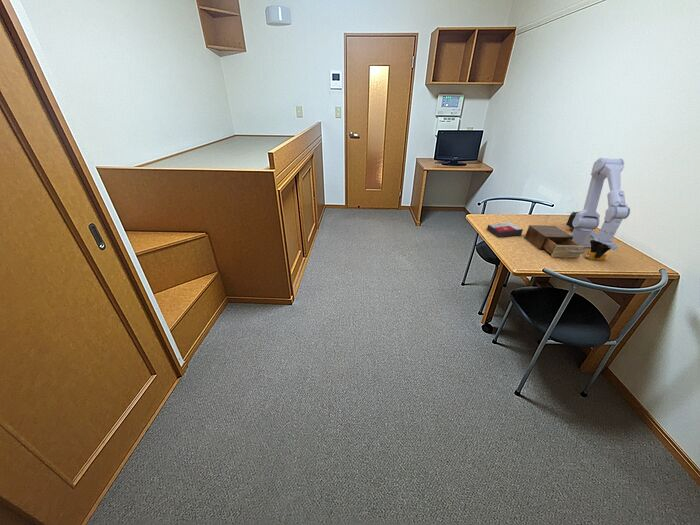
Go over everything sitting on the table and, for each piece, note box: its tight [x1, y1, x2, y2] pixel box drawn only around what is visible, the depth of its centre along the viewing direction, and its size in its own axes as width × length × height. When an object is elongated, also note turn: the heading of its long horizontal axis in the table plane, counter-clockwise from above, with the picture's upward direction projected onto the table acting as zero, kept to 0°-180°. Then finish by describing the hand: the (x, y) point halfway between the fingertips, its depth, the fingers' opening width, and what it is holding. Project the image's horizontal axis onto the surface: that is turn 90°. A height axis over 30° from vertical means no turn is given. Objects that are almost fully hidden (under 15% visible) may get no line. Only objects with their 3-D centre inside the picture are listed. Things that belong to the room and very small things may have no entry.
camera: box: [566, 211, 591, 231], centre depth 172 cm, size 11×11×15 cm
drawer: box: [543, 238, 586, 258], centre depth 145 cm, size 18×13×6 cm
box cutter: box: [584, 251, 607, 261], centre depth 143 cm, size 9×3×3 cm, turn 92°
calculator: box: [486, 221, 524, 238], centre depth 167 cm, size 11×4×15 cm
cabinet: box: [524, 224, 573, 251], centre depth 155 cm, size 15×15×8 cm
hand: (594, 256), depth 143 cm, fingers closed on box cutter, 2 cm apart
